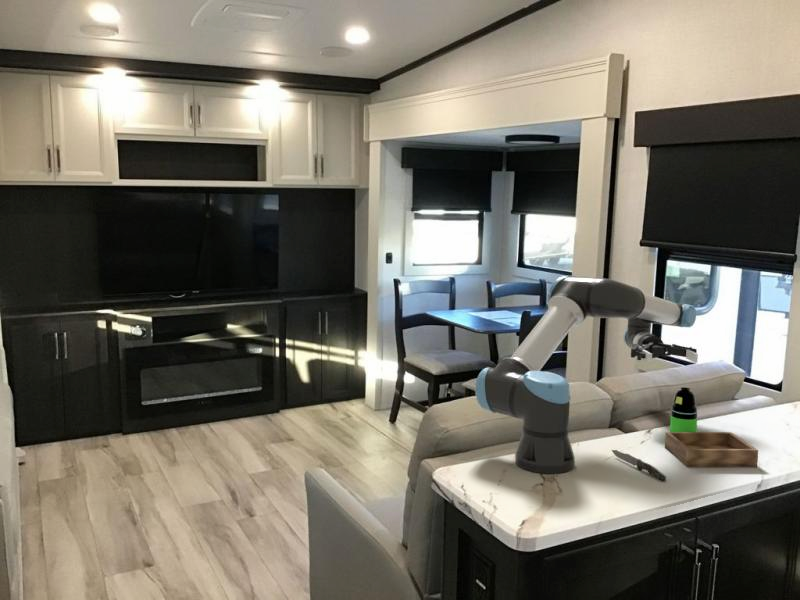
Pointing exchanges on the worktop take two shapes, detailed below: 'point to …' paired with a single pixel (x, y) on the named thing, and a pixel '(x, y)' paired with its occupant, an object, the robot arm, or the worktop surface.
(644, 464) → the knife
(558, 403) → the robot arm
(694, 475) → the worktop surface
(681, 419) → the bottle
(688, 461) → the crate
